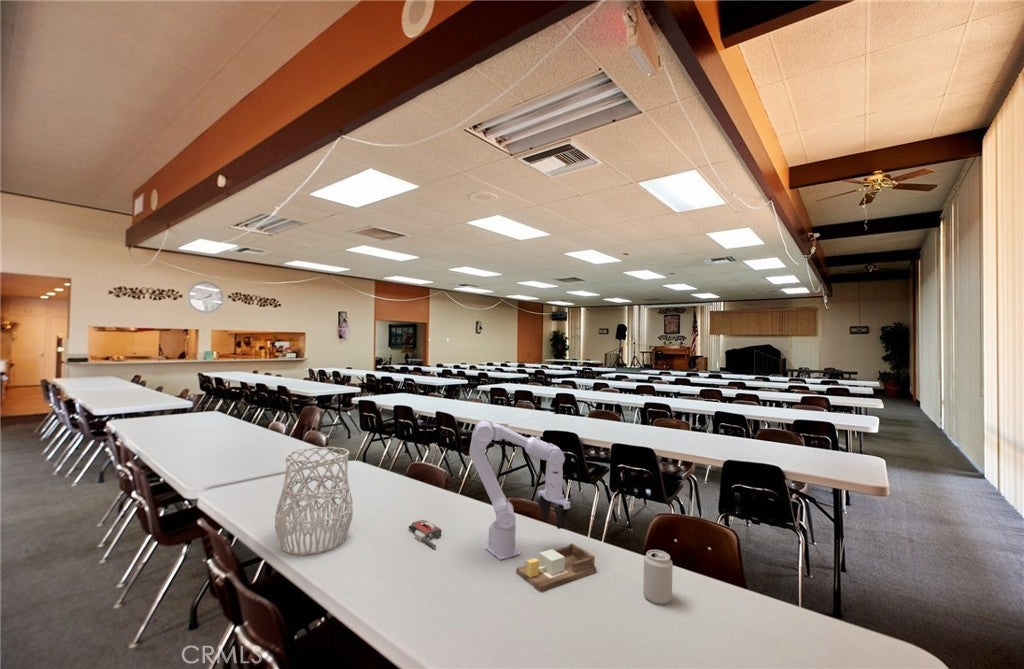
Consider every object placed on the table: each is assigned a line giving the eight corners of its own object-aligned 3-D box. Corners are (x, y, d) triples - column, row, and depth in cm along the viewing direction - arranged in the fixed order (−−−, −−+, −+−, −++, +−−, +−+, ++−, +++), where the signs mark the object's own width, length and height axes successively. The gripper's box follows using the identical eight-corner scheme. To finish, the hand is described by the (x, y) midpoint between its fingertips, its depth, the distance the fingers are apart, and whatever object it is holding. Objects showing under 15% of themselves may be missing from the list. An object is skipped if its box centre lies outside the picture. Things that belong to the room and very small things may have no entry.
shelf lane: (516, 573, 131) (516, 558, 131) (570, 556, 143) (570, 542, 143) (540, 592, 121) (541, 575, 121) (596, 572, 133) (596, 557, 133)
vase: (323, 522, 165) (326, 442, 166) (366, 537, 152) (370, 451, 153) (258, 545, 144) (263, 454, 145) (302, 565, 131) (307, 465, 133)
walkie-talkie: (403, 532, 159) (432, 551, 144) (403, 519, 159) (433, 538, 144) (424, 526, 165) (454, 544, 150) (424, 514, 165) (454, 531, 150)
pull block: (522, 571, 128) (522, 557, 129) (551, 562, 135) (552, 549, 135) (534, 580, 123) (534, 566, 124) (564, 570, 130) (564, 556, 130)
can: (649, 587, 125) (650, 545, 125) (675, 597, 120) (676, 553, 121) (638, 598, 119) (639, 554, 120) (666, 609, 114) (666, 563, 115)
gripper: (577, 487, 142) (576, 529, 142) (549, 475, 154) (548, 514, 154) (561, 490, 138) (559, 533, 138) (533, 478, 150) (532, 518, 150)
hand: (552, 524), depth 145 cm, fingers open, 7 cm apart
